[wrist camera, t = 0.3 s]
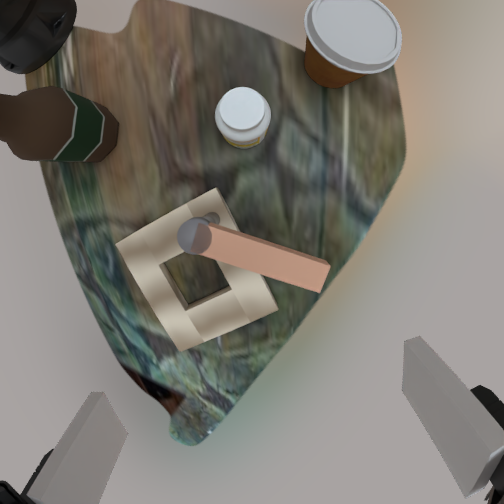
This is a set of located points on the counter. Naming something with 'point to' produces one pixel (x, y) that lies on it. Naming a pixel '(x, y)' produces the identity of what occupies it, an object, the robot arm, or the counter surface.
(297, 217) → the counter surface
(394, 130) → the counter surface
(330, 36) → the disposable coffee cup
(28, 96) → the beer bottle
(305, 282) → the bar
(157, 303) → the keeper board
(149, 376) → the counter surface
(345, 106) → the counter surface
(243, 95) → the supplement bottle
